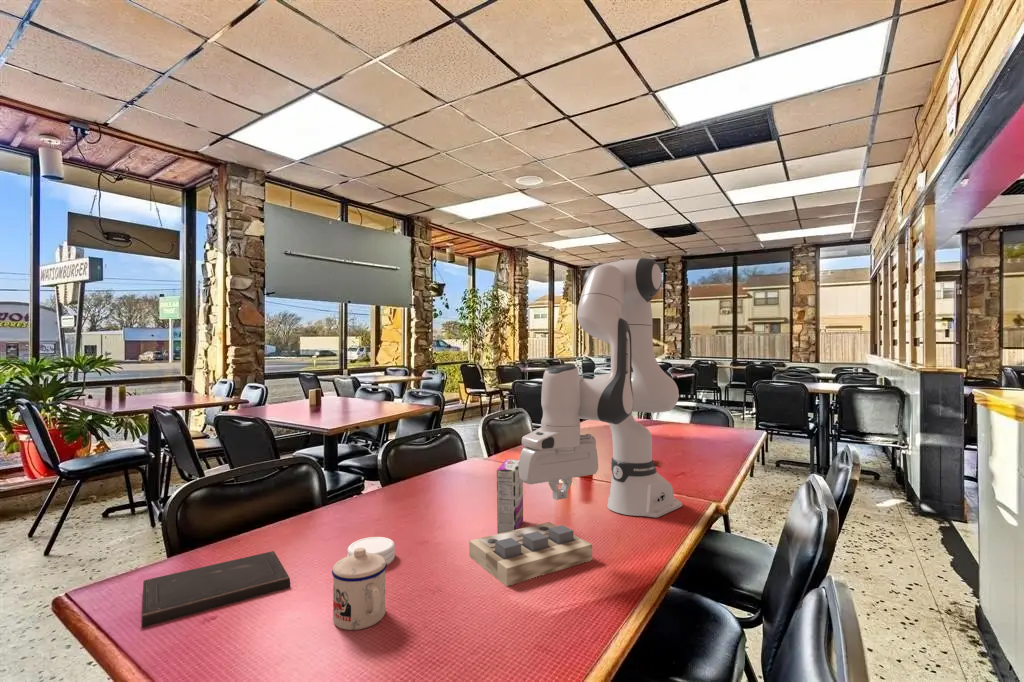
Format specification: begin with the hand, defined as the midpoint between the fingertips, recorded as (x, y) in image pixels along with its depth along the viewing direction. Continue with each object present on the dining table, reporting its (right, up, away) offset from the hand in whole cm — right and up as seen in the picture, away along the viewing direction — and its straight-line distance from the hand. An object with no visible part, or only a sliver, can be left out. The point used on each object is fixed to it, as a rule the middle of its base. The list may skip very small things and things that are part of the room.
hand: (560, 498), depth 110 cm
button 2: (0, -10, 0) cm, 10 cm away
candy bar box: (-11, -13, +17) cm, 24 cm away
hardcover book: (-68, -13, -15) cm, 71 cm away
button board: (-7, -13, -2) cm, 14 cm away
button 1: (-12, -10, -7) cm, 17 cm away
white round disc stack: (-42, -13, -2) cm, 44 cm away
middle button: (-6, -10, -4) cm, 12 cm away
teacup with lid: (-36, -13, -26) cm, 47 cm away
